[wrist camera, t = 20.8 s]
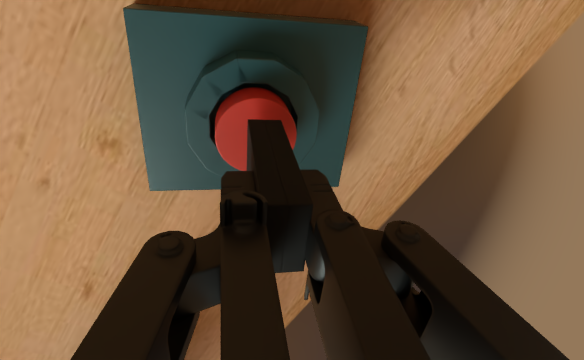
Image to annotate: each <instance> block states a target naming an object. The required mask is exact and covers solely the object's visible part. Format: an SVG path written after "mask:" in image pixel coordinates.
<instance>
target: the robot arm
mask: <svg viewBox="0 0 584 360" xmlns="http://www.w3.org/2000/svg"><path fill="white" fill-rule="evenodd" d="M305 260H306V263H307V267H308V275H307V281H306V287H305V294H304V300H308V295H309V293H310V297H311V301H312V304H313V308H314V312H315V316H316V319H317V323H318V327H319V331H320V334H321V338H322V342H323V345H324V350H325V353H326V357H327V360H569V359H568V358H567V357H566V356H565V355H563V353H561V352H560V351H559V350H558V349H557V348H556V347H555V346H554V345H552V344H551V343H550V342H549V341H548V340H547V339H546V338H545V337H543V336H542V335H541V334H540V333H539V332H538V331H537V330H535V329H534V328H533V327H532V326H531V325H530V324H529V323H528V322H526V321H525V320H524V319H523V318H522V317H521V316H520V315H519V314H518V313H516V312H515V311H514V310H513V309H512V308H511V307H510V306H509V305H508V304H506V303H505V302H504V301H503V300H502V299H501V298H500V297H499V296H497V295H496V294H495V293H494V292H493V291H492V290H491V289H490V288H488V287H487V286H486V285H485V284H484V283H483V282H482V281H481V280H479V279H478V278H477V277H476V276H475V275H474V274H473V273H472V272H471V271H469V270H468V269H467V268H466V267H465V266H464V265H463V264H461V263H460V262H459V261H458V260H457V259H456V258H455V257H454V256H452V255H451V254H450V253H449V252H448V251H447V250H446V249H445V248H444V247H443V246H441V245H440V244H439V243H438V242H437V241H436V240H435V239H434V238H432V237H431V236H430V235H429V234H428V233H427V232H426V231H424V230H423V229H422V228H420V227H419V226H417V225H415V224H413V223H410V222H406V221H393V222H390V223H388V224H387V226H386V227H385V230H384V231H378V230H373V229H368V228H364V227H361V226H360V224H359V222H358V221H357V220H356V219H355V217H354V216H352V215H351V214H349V213H347V212H344V211H343V210H342V208H341V206H340V204H339V202H338V200H337V198H336V196H335V194H334V192H333V190H332V187H331V185H330V183H329V181H328V179H327V177H326V176H325V175H324V174H323V173H321V172H320V171H319V170H318V169H310V170H300V168H299V165H298V163H297V160H296V158H295V155H294V152H293V150H292V147H291V145H290V142H289V139H288V137H287V134H286V132H285V129H284V126H283V124H282V121H281V120H260V119H248V127H247V169H246V171H226V173H225V174H224V175H223V176H222V178H221V202H220V225H219V226H218V228H217V229H216V230H215V231H213V232H212V233H210V234H208V235H206V236H203V237H200V238H197V239H193V237H192V236H190V235H189V234H187V233H185V232H181V231H167V232H163V233H159V234H157V235H155V236H153V237H151V238H150V239H149V240H148V241H147V242H146V243H145V244H144V246H143V247H142V249H141V251H140V252H139V254H138V255H137V257H136V258H135V260H134V262H133V263H132V265H131V266H130V268H129V269H128V271H127V272H126V274H125V276H124V277H123V279H122V280H121V282H120V283H119V285H118V286H117V288H116V290H115V291H114V293H113V294H112V296H111V297H110V299H109V300H108V302H107V304H106V305H105V307H104V308H103V310H102V311H101V313H100V314H99V316H98V318H97V319H96V321H95V322H94V324H93V325H92V327H91V328H90V330H89V332H88V333H87V335H86V336H85V338H84V339H83V341H82V342H81V344H80V346H79V347H78V349H77V350H76V352H75V353H74V355H73V356H72V358H71V360H184V358H185V355H186V352H187V349H188V346H189V344H190V341H191V338H192V335H193V332H194V329H195V326H196V323H197V321H198V318H199V314H200V311H202V310H204V309H207V308H210V307H212V306H215V305H218V304H220V303H221V360H290V357H289V351H288V346H287V341H286V334H285V329H284V323H283V317H282V312H281V306H280V300H279V295H278V289H277V283H276V278H275V273H283V272H298V271H304V265H305ZM414 283H415V284H416V285H417V286H418V287H419V288H420V290H421V292H420V293H419V292H417V291H416V290H415V289H414V288H413V284H414Z"/></svg>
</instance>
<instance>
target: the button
mask: <svg viewBox="0 0 584 360" xmlns="http://www.w3.org/2000/svg"><path fill="white" fill-rule="evenodd" d="M248 119H260V120H281V121H282V124H283V126H284V129H285V132H286V134H287V137H288V139H289V142H290V145H291V147H292V150H293V148H294V146H295V143H296V136H297V132H296V126H295V122H294V120H293V118H292V116H291V114H290V112H289V110H288V107H287V106H286V104H285V103H284V101H283V100H282V99H281V98H280V97H279V96H278V95H276V94H275V93H273V92H272V91H270V90H267V89H264V88H259V87H248V88H243V89H240V90H238V91H235V92H234V93H232V94H230V95H229V96H228V97H227V98H226V99H225V100H224V101H223V102H222V103H221V105H220V107H219V109H218V111H217V114H216V118H215V143H216V147H217V149H218V152H219V153H220V155H221V156H222V158H223V159H224V160H225V161H226V162H227V163H228V164H230V165H231V166H232V167H234V168H236V169H238V170H241V171H246V169H247V127H248Z"/></svg>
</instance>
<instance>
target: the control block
mask: <svg viewBox="0 0 584 360" xmlns="http://www.w3.org/2000/svg"><path fill="white" fill-rule="evenodd" d="M123 11H124V18H125V25H126V32H127V38H128V45H129V52H130V59H131V66H132V72H133V79H134V86H135V93H136V100H137V106H138V113H139V120H140V127H141V134H142V140H143V147H144V154H145V161H146V168H147V174H148V181H149V188H150V191H167V190H211V189H221V178H222V176H223V175H224V174H225V173H226V171H241V170H238V169H236V168H234V167H232V166H231V165H230V164H228V163H227V162H226V161H225V160H224V159H223V158H222V156H221V155H220V153H219V152H218V149H217V147H216V143H215V118H216V114H217V111H218V109H219V107H220V105H221V103H222V102H223V101H224V100H225V99H226V98H227V97H228V96H229V95H230V94H232V93H234V92H235V91H238V90H240V89H243V88H248V87H259V88H264V89H267V90H270V91H272V92H273V93H275V94H276V95H278V96H279V97H280V98H281V99H282V100H283V101H284V103H285V104H286V106H287V107H288V110H289V112H290V114H291V116H292V118H293V120H294V122H295V126H296V132H297V136H296V143H295V146H294V148H293V152H294V155H295V158H296V160H297V163H298V165H299V168H300V170H310V169H318V170H319V171H320V172H321V173H323V174H324V175H325V176H326V177H327V179H328V181H329V183H330V185H331V187H338V186H339V181H340V175H341V170H342V165H343V159H344V154H345V149H346V143H347V138H348V133H349V127H350V122H351V117H352V111H353V106H354V101H355V95H356V90H357V85H358V79H359V74H360V69H361V63H362V58H363V53H364V47H365V42H366V37H367V31H368V26H366V25H363V24H361V23H358V22H356V21H350V20H337V19H324V18H311V17H298V16H286V15H273V14H260V13H247V12H235V11H222V10H209V9H196V8H184V7H171V6H158V5H145V4H131V5H129V6H127V7H125V8H123Z"/></svg>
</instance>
